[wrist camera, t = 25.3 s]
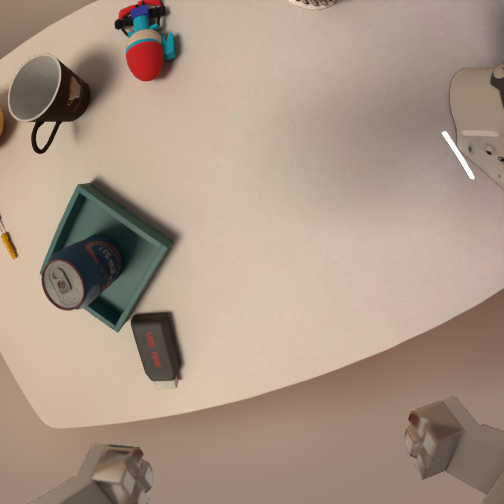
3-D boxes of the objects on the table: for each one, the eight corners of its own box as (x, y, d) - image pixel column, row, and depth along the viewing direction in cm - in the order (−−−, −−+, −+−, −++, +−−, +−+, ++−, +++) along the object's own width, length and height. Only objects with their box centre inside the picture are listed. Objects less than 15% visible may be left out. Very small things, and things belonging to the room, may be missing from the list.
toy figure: (118, 19, 34) (127, 96, 35) (109, 0, 29) (115, 80, 30) (167, 3, 34) (183, 79, 35) (161, -17, 29) (177, 60, 30)
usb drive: (167, 312, 43) (163, 321, 41) (184, 380, 46) (181, 391, 43) (134, 315, 43) (128, 323, 41) (153, 381, 46) (149, 391, 44)
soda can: (135, 268, 41) (100, 302, 29) (99, 288, 42) (58, 324, 30) (111, 223, 40) (67, 242, 28) (76, 245, 40) (28, 270, 28)
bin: (174, 241, 41) (167, 247, 37) (125, 322, 44) (117, 332, 40) (89, 182, 39) (77, 184, 35) (51, 266, 41) (39, 273, 38)
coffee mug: (66, 66, 34) (29, 47, 24) (107, 82, 35) (73, 62, 26) (32, 136, 36) (-10, 133, 27) (70, 157, 38) (29, 156, 28)
